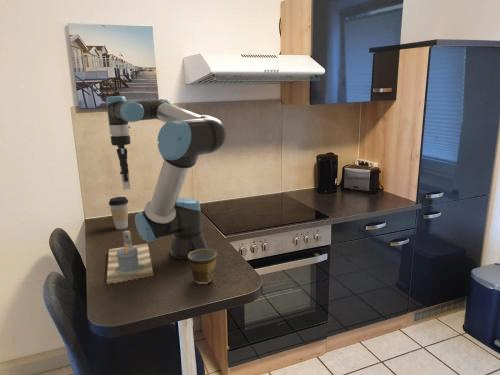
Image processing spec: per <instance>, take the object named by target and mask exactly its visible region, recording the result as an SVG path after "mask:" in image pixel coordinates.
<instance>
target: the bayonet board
mask: <svg viewBox="0 0 500 375" xmlns="http://www.w3.org/2000/svg"><path fill="white" fill-rule="evenodd" d="M131 235H132V234H131V230H125V231H122V240H123V247H116V248H115V247H114V248H108V256H107V257H108V258H107V260H108V261H107V271H106V272H107V274H106V285H107V284H108V285H111V284H110V283H114V284H118V283H117V282H120V283H124V282H123V281H125V282H129V281H128V280H131V281H134V280H133V279H136V280H139V279H138V278H142V279H144V278H143V277H148V276H153V277H154V270H153V266H152V265H153V264H152V260H151V253H150V249H149V244H148V243H149V242H148V243H147V242H146V243H142V244H141V243H140V244H136V245H135V244H134V245H133V242H132V236H131ZM125 247H128V248H136V249H137V251H138V264H139V268H137V269H136V270H134V271H129V272H122V271H119V264H118V258H117V252H118V251H119V250H121V249H124V248H125ZM148 278H149V277H148Z"/></svg>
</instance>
